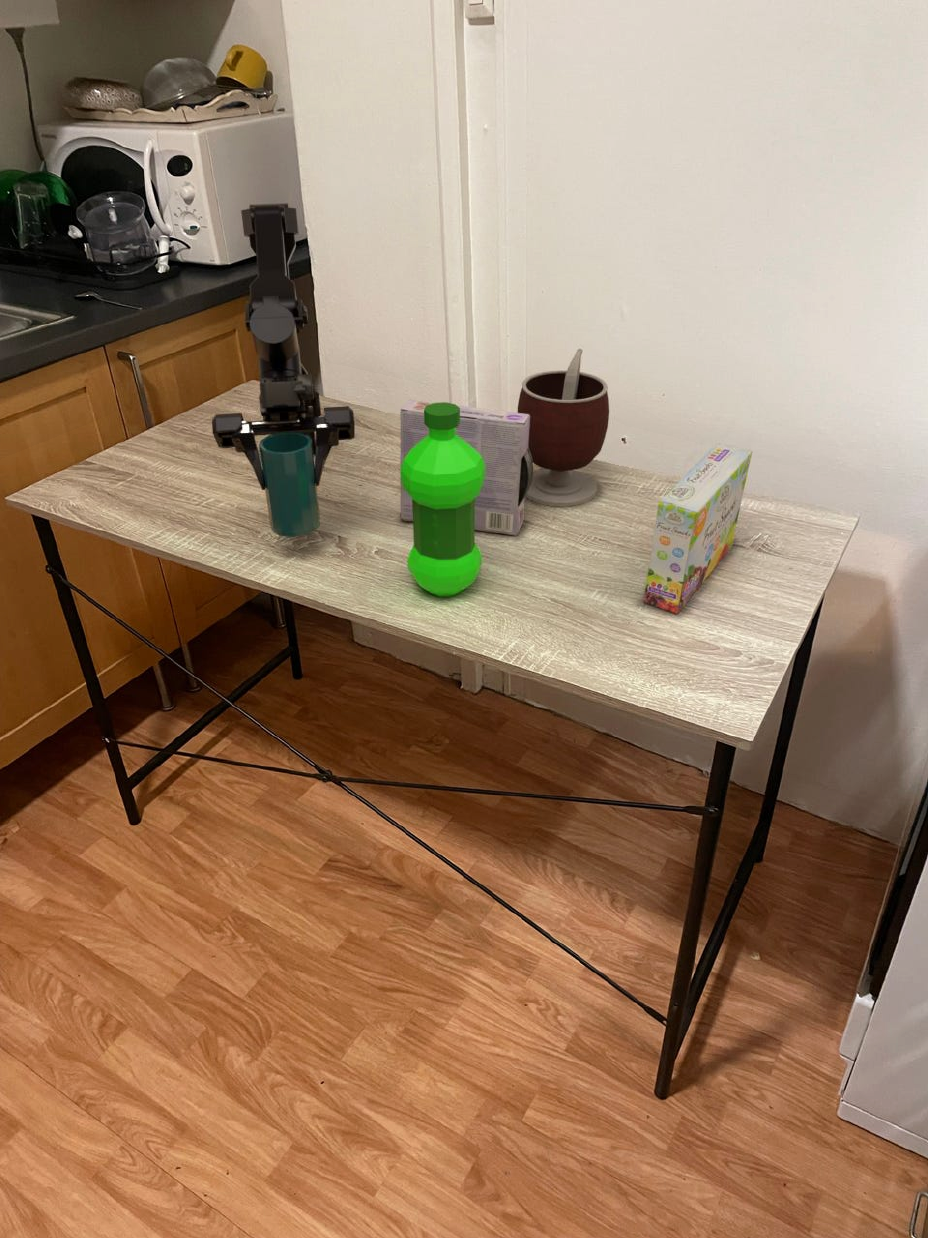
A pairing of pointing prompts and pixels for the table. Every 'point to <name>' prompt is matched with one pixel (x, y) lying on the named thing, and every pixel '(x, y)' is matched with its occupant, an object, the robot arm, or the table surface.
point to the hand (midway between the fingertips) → (290, 487)
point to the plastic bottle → (443, 504)
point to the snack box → (695, 526)
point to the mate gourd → (564, 432)
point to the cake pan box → (503, 456)
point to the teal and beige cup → (290, 483)
